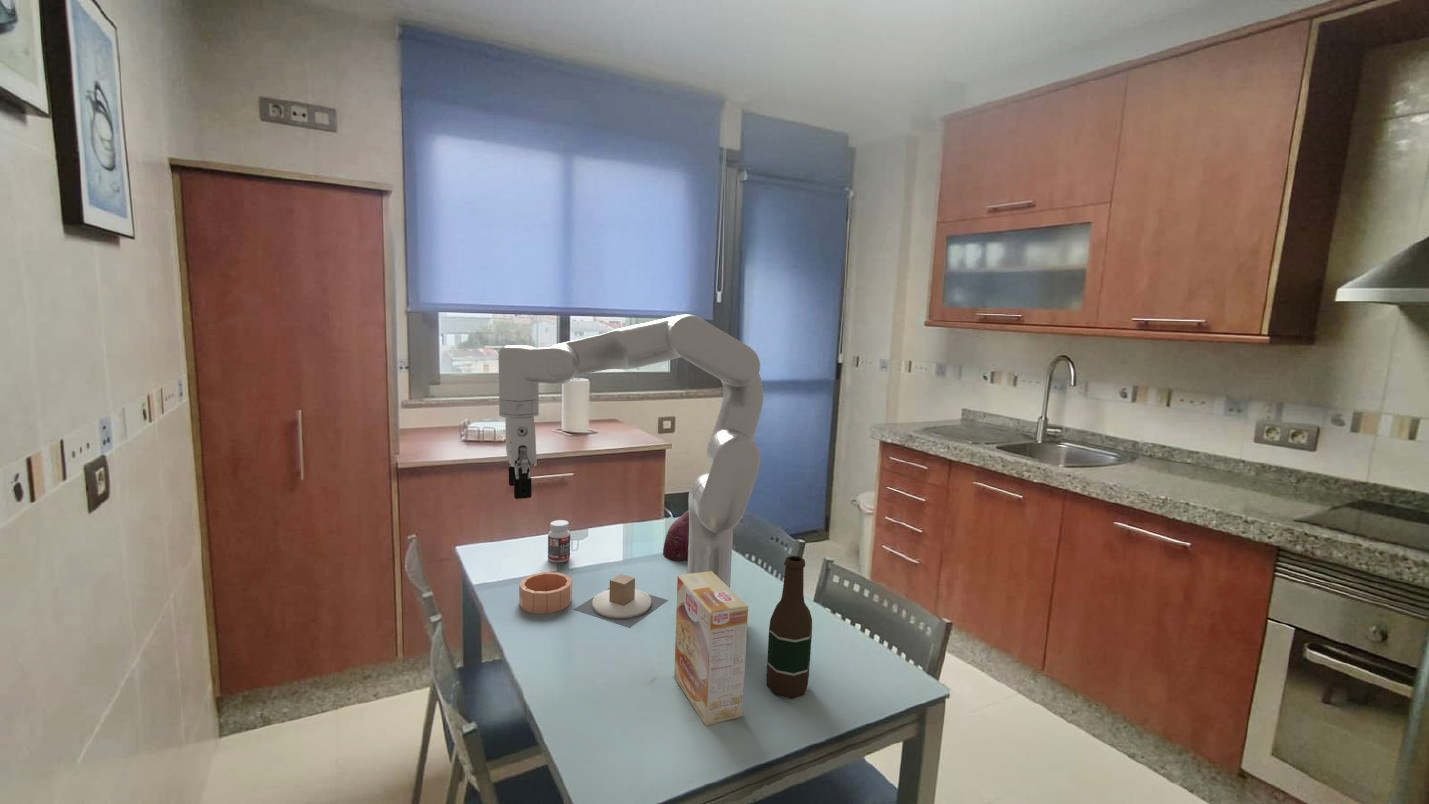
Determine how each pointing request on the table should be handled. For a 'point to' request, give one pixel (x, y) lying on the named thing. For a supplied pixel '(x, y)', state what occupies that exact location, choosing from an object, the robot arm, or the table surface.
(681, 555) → the vegetable
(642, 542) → the table surface
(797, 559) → the beer bottle
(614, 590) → the lid
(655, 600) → the mat
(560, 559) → the pill bottle
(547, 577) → the bowl
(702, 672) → the coffeecake box
